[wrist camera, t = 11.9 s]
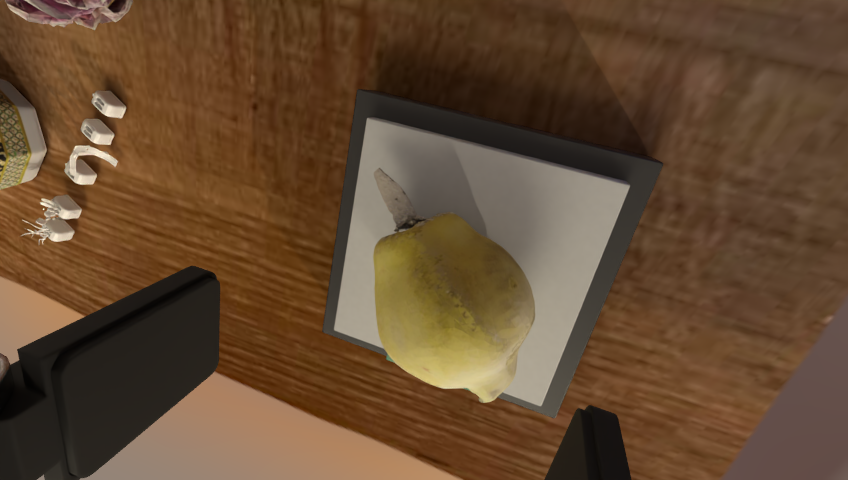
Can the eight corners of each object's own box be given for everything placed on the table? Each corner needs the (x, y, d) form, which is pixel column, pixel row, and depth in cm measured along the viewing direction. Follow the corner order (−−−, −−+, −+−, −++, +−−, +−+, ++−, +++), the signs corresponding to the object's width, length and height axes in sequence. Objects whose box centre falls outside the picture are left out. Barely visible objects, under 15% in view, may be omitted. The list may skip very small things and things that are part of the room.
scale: (338, 315, 25) (314, 339, 22) (374, 90, 20) (348, 88, 18) (554, 393, 22) (555, 431, 20) (652, 157, 18) (669, 165, 15)
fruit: (439, 122, 17) (592, 320, 16) (368, 203, 21) (488, 366, 20) (339, 145, 13) (541, 419, 12) (272, 242, 17) (420, 452, 16)
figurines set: (109, 88, 25) (55, 81, 22) (141, 119, 25) (91, 116, 22) (52, 229, 29) (1, 237, 26) (78, 256, 29) (30, 268, 26)
